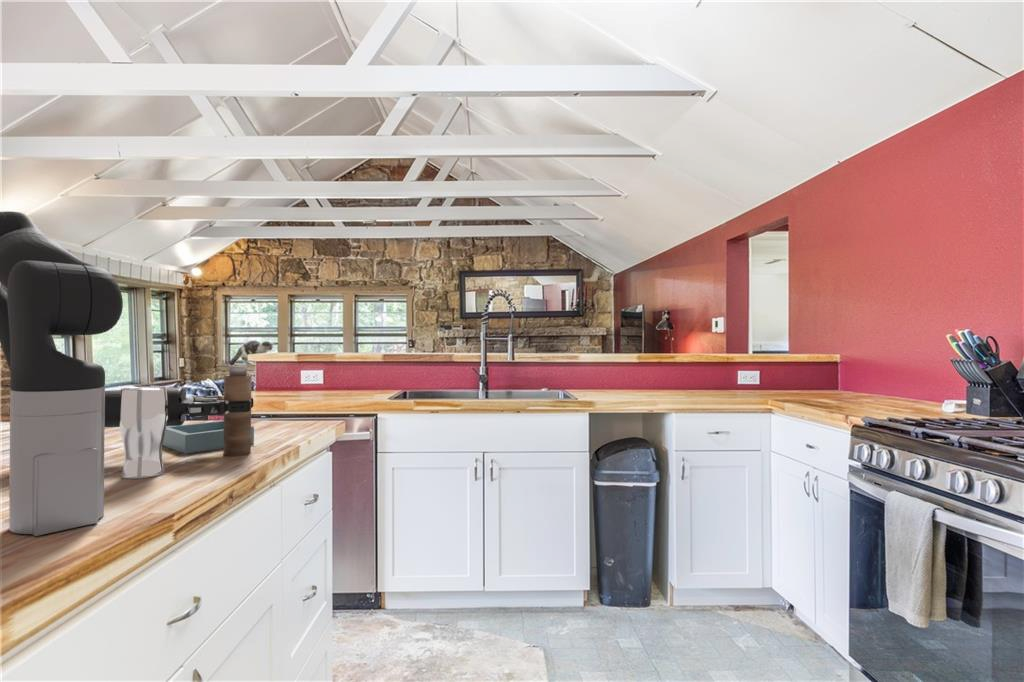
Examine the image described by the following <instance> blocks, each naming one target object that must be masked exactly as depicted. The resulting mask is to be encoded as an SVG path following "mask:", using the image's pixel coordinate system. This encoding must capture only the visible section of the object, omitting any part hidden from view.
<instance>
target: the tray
mask: <svg viewBox="0 0 1024 682" xmlns="http://www.w3.org/2000/svg"><path fill="white" fill-rule="evenodd" d="M223 441H224V419H223V420H215V421H205V422H196V423H186V424H182V425H180V426H166V431H165V436H164V440H163V446H164V447H166V448H168V449H172V450H174V451H177V452H179V453H181V454H191V453H197V452H206V451H211V450H218V449H219V450H220V449H223ZM254 443H255V426H252V425H251V445H253V444H254ZM163 446H162V447H163Z"/></svg>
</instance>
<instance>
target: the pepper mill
mask: <svg viewBox="0 0 1024 682" xmlns="http://www.w3.org/2000/svg"><path fill="white" fill-rule="evenodd" d="M228 367H229V368H228V370H229V371H228V374H226V375H224V377H223V378H224V379H223V396H224V400H223V401H225V400H227V401H229V403H230V401H247V400H249V401H251V398H252V381H253V380H252V377H253V376H252V374H248V366H247V365H229V366H228ZM223 420H224V441H223V448H222V450H223V455H224V456H225V457H236V456H237V457H239V456H245V455H249V454H251V453H252V449H251V446H252V444H251V426H252V409H251V410H250V411H249V412H230V411H229V413H227V414H224V415H223Z"/></svg>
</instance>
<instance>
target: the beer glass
mask: <svg viewBox="0 0 1024 682" xmlns="http://www.w3.org/2000/svg"><path fill="white" fill-rule="evenodd" d="M167 388H168V387H167V386H157V385H155V386H154V385H153V386H152V385H151V386H134V387H133V386H132V387H124V388H123V387H122V388H120V390H121V395H120V404H119V423H120V427H119V429H120V434H121V439H122V444H123V449H124V461H123V462H124V463H123V467H122V472H121V477H122V478H123V479H126V480H140V479H147V478H149V479H150V478H153V477H158V476H160V475H162V474H163V475H164V473H165V466H164V462H163V461H164V460H163V440H164V436H165V431H166V427H167V419H168V399H167Z"/></svg>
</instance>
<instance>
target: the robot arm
mask: <svg viewBox="0 0 1024 682" xmlns="http://www.w3.org/2000/svg"><path fill="white" fill-rule="evenodd" d="M0 283H1V285H2V286H3V287H5V288H6V291H5V289H3V288H2V286H1V285H0V347H1V349H2V353H3V356H4V358H5V361H6V364H7V367H8V370H9V372H10V385H9V386H10V387H9V389H10V392H9V393H10V394H9V398H10V400H9V402H10V403H9V475H8V476H9V479H8V480H9V483H8V484H9V493H8V495H9V497H8V498H9V503H8V504H9V507H8V508H9V509H8V510H9V511H8V512H9V513H8V514H9V517H8V519H9V521H8V522H9V523H8V524H9V525H8V526H9V527H8V530H9V531H10V532H11V533H13V534H19V535H20V534H23V535H33V536H34V537H36V536H37V537H38V536H43V535H45V534H52V533H57V532H60V531H65V530H71V529H75V528H79V527H84V526H88V525H89V526H90V525H94V524H97V523H99V519H101V518H103V516H104V515H105V510H104V509H105V429H106V428H120V423H119V404H120V395H121V389H118V390H117V389H116V390H106V372H105V368H104V367H103V366H102V365H100V364H98V363H94V362H92V361H87V360H83V359H78V358H76V357H73V356H70V355H67V354H64V353H63V352H61V351H59V350H58V349H57V346H56V343H55V340H54V337H53V336H95V335H99V334H100V335H101V334H103V333H106V332H108V331H110V330H112V329H113V328H114V327H115V326H116V325H117V324H118V322H119V320H120V318H121V315H122V313H123V309H124V307H123V306H124V304H123V303H124V301H123V300H124V299H123V294H122V291H121V288H120V286H119V283H118V282H117V280H116V279H115V277H114V276H113V275H112V274H111V273H110V272H109V271H108V270H107V269H105V268H102V267H100V266H98V265H94V264H91V263H88V262H86V261H84V260H82V259H80V258H79V257H77V256H76V255H74V254H72V253H71V252H70V251H68V250H67V249H65V248H64V247H63V246H62V245H61V244H59V243H58V242H56V241H55V240H53V239H52V238H50V237H48V236H47V235H46V234H45V233H43V231H42V230H41V229H40V228H39V226H38V225H37V224H36V222H35V221H34V220H33V219H32V218H31V217H30V216H28V215H27V214H25V213H22V212H18V211H11V210H10V211H8V210H7V211H0ZM167 399H168V419H167V426H180V425H184V423H185V421H186V417H187V415H188V417H190V418H200V417H214V416H224V414H227V413H229V411H230V412H249V411H250V410H251V411H252V408H253V407H254V398H253V397H251V401H249V400H247V401H230V403H229V401H227V400H225V401H224V395H222V396H221V395H204V394H200V395H195V396H193V398H190V399H189V398H187V393H186V390H185V388H183V387H167ZM167 426H166V427H167Z"/></svg>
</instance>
